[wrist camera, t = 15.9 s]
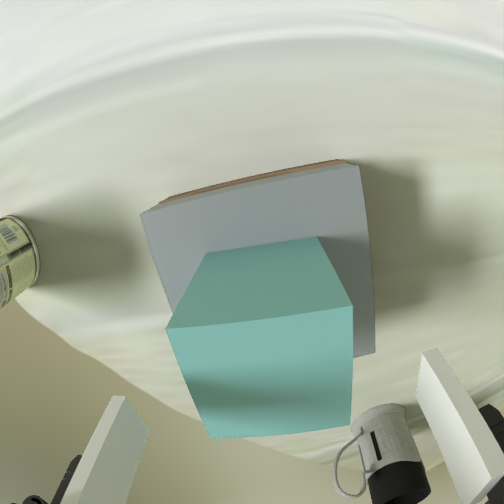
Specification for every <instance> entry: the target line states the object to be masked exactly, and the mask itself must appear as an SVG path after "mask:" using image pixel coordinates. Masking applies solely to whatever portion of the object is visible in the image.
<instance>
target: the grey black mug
mask: <svg viewBox="0 0 504 504" xmlns="http://www.w3.org/2000/svg"><path fill="white" fill-rule="evenodd" d="M405 414H406V413H405V409H404V408H403V407H402V406H400V405H398V404H384V405H380V406H376V407H374V408H371V409H370V410H368V411H366V412H364V413H363V414H361V415H360V416H359V417H358V418H357V419H356V420H355V421H354V423H353V425H352V427H351V432H352V434H353V436H354V437H355V438H354V439H353V440H351V441H350V442H349V443H348V444H347V445H345V446H344V447H343V448H342V449H341V450H340V451H339V452H338V454H337V456H336V458H335V461H334V464H333V470H332V477H333V484H334V488H335V490H336V491H337V492H338V494H340V495H341V496H342V497H345V498H348V499H354V498H358V497H359V496H360V495H362V494H363V493H364V491H365V490H366V482H367V485H368V486H369V490H370V494H371V499H372V503H373V504H417V503H419V502H420V501H422V500H423V499H425V498H426V497H427V496H428V495H429V494H430V492H431V489H430V486H429V483H428V481H427V477H426V474H425V468H424V465H423V462H422V460H421V457H420V454H419V452H418V449H417V447H416V444H415V442H414V439H413V437H412V434H411V432H410V429H409V427H408V424H407V422H406V419H405ZM356 440H357V444H358V448H359V452H360V456H361V461H362V465H363V469H364V472H363V473H362V474H361V486H362V487H361V491H360V493H359V494H357V495H350V494H347V493H345V492H344V491H342V489H341V488H340V486H339V484H338V480H337V465H338V461H339V458H340V456H341V454H342V452H343V451H344V450H345V449H346V448H347V447H348V446H349V445H351V444H352V443H353V442H355V441H356Z"/></svg>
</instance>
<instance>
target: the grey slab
mask: <svg viewBox="0 0 504 504" xmlns="http://www.w3.org/2000/svg"><path fill="white" fill-rule="evenodd" d="M140 218H141V221H142V224H143V228H144V231H145V234H146V237H147V240H148V244H149V247H150V250H151V253H152V256H153V259H154V262H155V265H156V268H157V271H158V274H159V276H160V279H161V282H162V285H163V288H164V291H165V293H166V296H167V299H168V302H169V304H170V307H171V310H172V312H173V314H174V312H175V310H176V308H177V306H178V304H179V302H180V300H181V298H182V296H183V295H184V293H185V291H186V289H187V287H188V285H189V283H190V281H191V280H192V278H193V276H194V274H195V272H196V270H197V268H198V267H199V265H200V263H201V261H202V259H203V257H204V256H205V254H206V253H209V252H216V251H222V250H229V249H236V248H242V247H249V246H255V245H262V244H269V243H275V242H282V241H289V240H295V239H302V238H309V237H316V236H317V238H318V240H319V242H320V244H321V245H322V247H323V249H324V251H325V253H326V255H327V257H328V259H329V260H330V262H331V264H332V266H333V268H334V270H335V272H336V274H337V276H338V278H339V279H340V281H341V283H342V285H343V287H344V289H345V291H346V293H347V295H348V297H349V299H350V301H351V303H352V305H353V358H356V357H360V356H364V355H368V354H372V353H375V312H374V292H373V277H372V264H371V253H370V243H369V233H368V225H367V217H366V209H365V202H364V195H363V188H362V182H361V176H360V170H359V166H357V165H352V164H347V163H342V164H336V165H330V166H324V167H319V168H314V169H308V170H303V171H298V172H293V173H288V174H283V175H278V176H273V177H268V178H263V179H259V180H254V181H250V182H245V183H241V184H236V185H232V186H228V187H224V188H219V189H215V190H211V191H207V192H203V193H199V194H195V195H191V196H187V197H183V198H180V199H176V200H172V201H168V202H165V203H161V204H157V205H156V206H154V207H152V208H150V209H149V210H147V211H145V212H143V213H142V214H140Z"/></svg>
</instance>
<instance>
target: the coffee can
mask: <svg viewBox="0 0 504 504" xmlns="http://www.w3.org/2000/svg"><path fill="white" fill-rule="evenodd" d="M39 269H40V260H39V253H38V249H37V246H36V243H35V240H34V238H33V236H32V234H31V232H30V231H29V229H28V228H27V227H26V225H25V224H24V223H23V222H22V221H20V220H19V219H18V218H16V217H13V216H4V217H2V218H0V309H1V308H2V307H4V306H5V305H6V304H7V303H9V302H10V301H11V300H13V299H14V298H15V297H16V296H18V295H19V294H20V293H22V292H23V291H24V290H26V289H27V288H29V287H31V286H32V285H33V284H34V283H35V282H36V280H37V278H38V275H39Z"/></svg>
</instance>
